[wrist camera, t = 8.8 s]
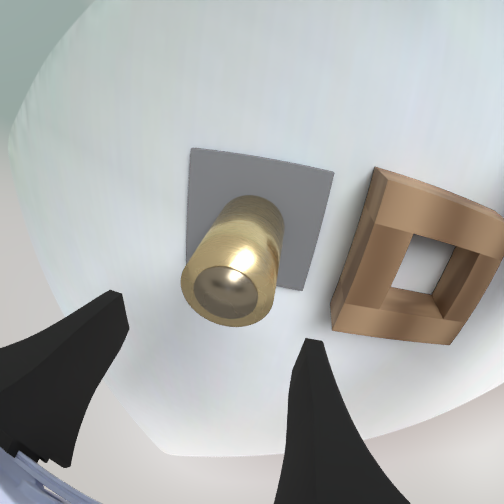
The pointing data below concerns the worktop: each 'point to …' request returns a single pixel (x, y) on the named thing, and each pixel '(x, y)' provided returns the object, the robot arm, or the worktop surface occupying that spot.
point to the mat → (266, 186)
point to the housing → (393, 251)
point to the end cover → (236, 264)
